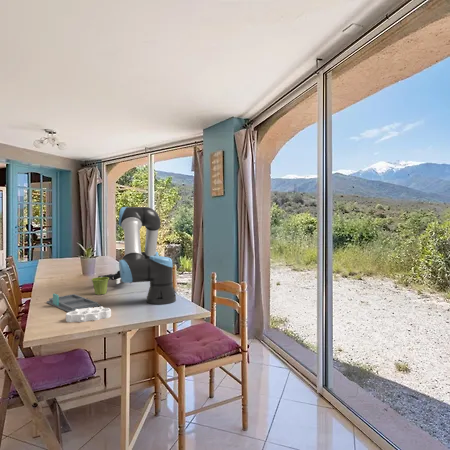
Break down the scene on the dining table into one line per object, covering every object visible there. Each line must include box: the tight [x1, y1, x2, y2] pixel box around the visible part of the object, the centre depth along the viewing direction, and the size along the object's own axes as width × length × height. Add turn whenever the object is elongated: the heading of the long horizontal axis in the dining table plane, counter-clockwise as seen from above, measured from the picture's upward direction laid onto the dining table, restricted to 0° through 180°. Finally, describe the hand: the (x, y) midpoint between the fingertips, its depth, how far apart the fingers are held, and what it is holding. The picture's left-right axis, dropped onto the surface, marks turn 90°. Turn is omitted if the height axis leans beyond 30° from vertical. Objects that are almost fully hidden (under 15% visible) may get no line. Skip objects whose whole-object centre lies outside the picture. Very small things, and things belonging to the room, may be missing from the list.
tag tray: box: [46, 293, 101, 313], centre depth 163 cm, size 27×15×6 cm, turn 49°
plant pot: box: [91, 276, 109, 296], centre depth 186 cm, size 9×9×9 cm
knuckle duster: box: [65, 306, 112, 323], centre depth 143 cm, size 3×18×15 cm
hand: (106, 281), depth 192 cm, fingers open, 13 cm apart
